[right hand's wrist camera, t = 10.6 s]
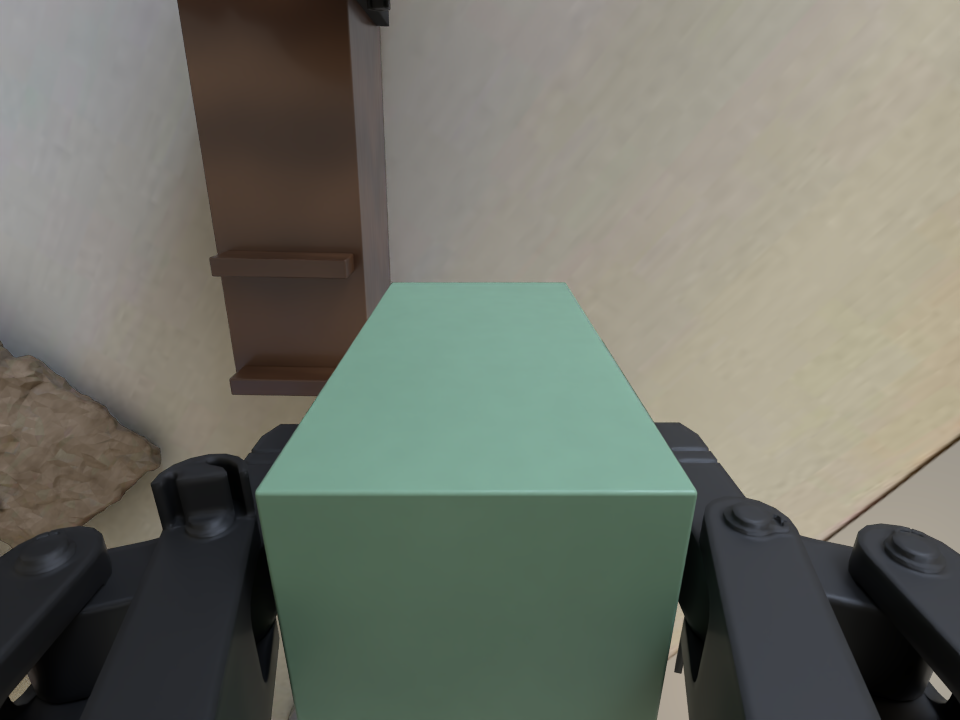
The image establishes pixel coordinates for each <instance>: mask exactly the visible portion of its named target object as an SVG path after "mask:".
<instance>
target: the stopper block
mask: <svg viewBox="0 0 960 720" xmlns="http://www.w3.org/2000/svg"><path fill="white" fill-rule="evenodd" d="M255 498H256V503H257V508H258V513H259V519H260V524H261V529H262V535H263V540H264V545H265V551H266V556H267V561H268V567H269V572H270V577H271V583H272V588H273V593H274V599H275V604H276V609H277V615H278V620H279V625H280V631H281V636H282V641H283V647H284V652H285V657H286V663H287V668H288V673H289V679H290V684H291V689H292V695H293V700H294V705H295V711H296V716H297V720H657V715H658V710H659V704H660V699H661V693H662V687H663V682H664V676H665V671H666V665H667V660H668V654H669V649H670V643H671V638H672V632H673V627H674V621H675V616H676V610H677V604H678V599H679V593H680V588H681V582H682V577H683V571H684V566H685V560H686V555H687V549H688V544H689V538H690V532H691V527H692V521H693V516H694V510H695V505H696V499H697V491H696V489H695V487H694V486H693V484H692V483H691V481H690V479H689V478H688V476H687V475H686V473H685V472H684V470H683V468H682V467H681V465H680V464H679V462H678V460H677V459H676V457H675V456H674V454H673V453H672V451H671V449H670V448H669V446H668V445H667V443H666V441H665V440H664V438H663V437H662V435H661V434H660V432H659V430H658V429H657V427H656V426H655V424H654V422H653V421H652V419H651V418H650V416H649V415H648V413H647V411H646V410H645V408H644V407H643V405H642V403H641V402H640V400H639V399H638V397H637V395H636V394H635V392H634V391H633V389H632V388H631V386H630V384H629V383H628V381H627V380H626V378H625V376H624V375H623V373H622V372H621V370H620V369H619V367H618V365H617V364H616V362H615V361H614V359H613V357H612V356H611V354H610V353H609V351H608V350H607V348H606V346H605V345H604V343H603V342H602V340H601V338H600V337H599V335H598V334H597V332H596V331H595V329H594V327H593V326H592V324H591V323H590V321H589V319H588V318H587V316H586V315H585V313H584V311H583V310H582V308H581V307H580V305H579V304H578V302H577V300H576V299H575V297H574V296H573V294H572V292H571V291H570V289H569V288H568V286H567V285H566V283H391V285H390V286H389V288H388V289H387V291H386V292H385V294H384V295H383V297H382V298H381V300H380V301H379V303H378V305H377V306H376V308H375V309H374V311H373V312H372V314H371V315H370V317H369V318H368V320H367V321H366V323H365V324H364V326H363V327H362V329H361V331H360V332H359V334H358V335H357V337H356V338H355V340H354V341H353V343H352V344H351V346H350V347H349V349H348V350H347V352H346V353H345V355H344V357H343V358H342V360H341V361H340V363H339V364H338V366H337V367H336V369H335V370H334V372H333V373H332V375H331V376H330V378H329V380H328V381H327V383H326V384H325V386H324V387H323V389H322V390H321V392H320V393H319V395H318V396H317V398H316V399H315V401H314V402H313V404H312V406H311V407H310V409H309V410H308V412H307V413H306V415H305V416H304V418H303V419H302V421H301V422H300V424H299V425H298V427H297V428H296V430H295V432H294V433H293V435H292V436H291V438H290V439H289V441H288V442H287V444H286V445H285V447H284V448H283V450H282V451H281V453H280V454H279V456H278V458H277V459H276V461H275V462H274V464H273V465H272V467H271V468H270V470H269V471H268V473H267V474H266V476H265V477H264V479H263V480H262V482H261V484H260V485H259V487H258V488H257V490H256V492H255Z"/></svg>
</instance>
